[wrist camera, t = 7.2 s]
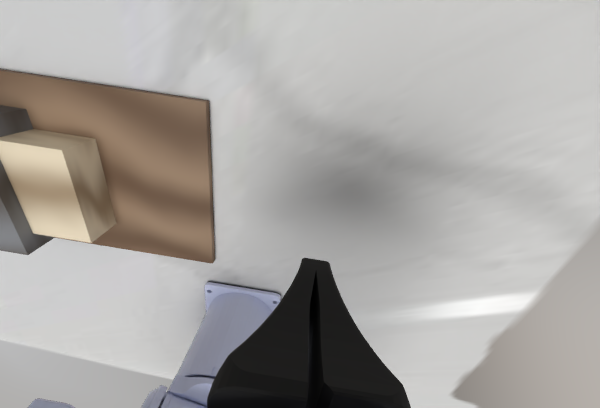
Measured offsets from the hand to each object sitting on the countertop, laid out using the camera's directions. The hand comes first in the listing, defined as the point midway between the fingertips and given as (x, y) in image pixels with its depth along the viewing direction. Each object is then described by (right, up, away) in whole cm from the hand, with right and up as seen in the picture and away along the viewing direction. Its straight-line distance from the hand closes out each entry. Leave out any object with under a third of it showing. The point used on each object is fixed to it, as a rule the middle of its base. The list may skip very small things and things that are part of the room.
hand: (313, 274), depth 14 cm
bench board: (-17, +6, +9) cm, 20 cm away
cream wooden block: (-20, +6, +9) cm, 22 cm away
